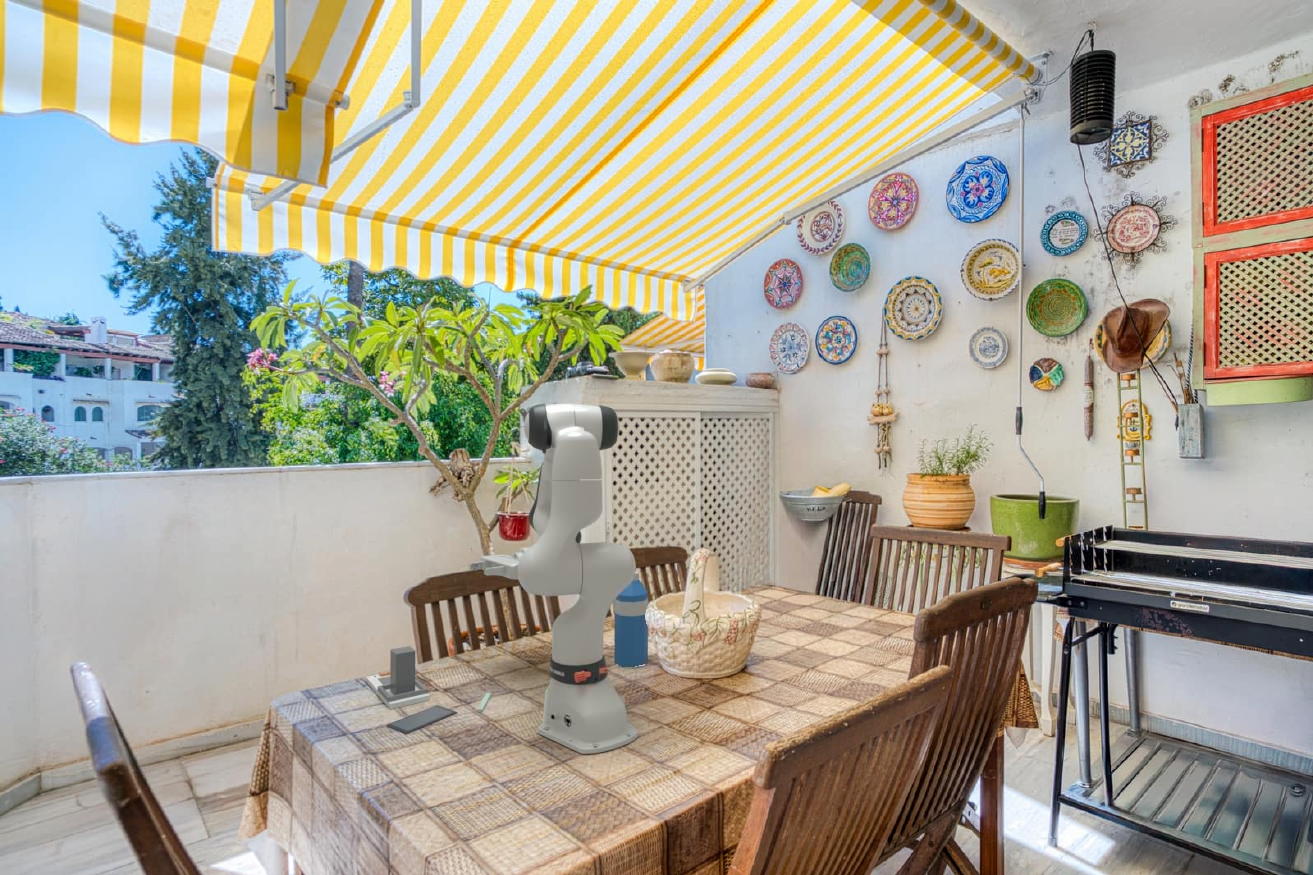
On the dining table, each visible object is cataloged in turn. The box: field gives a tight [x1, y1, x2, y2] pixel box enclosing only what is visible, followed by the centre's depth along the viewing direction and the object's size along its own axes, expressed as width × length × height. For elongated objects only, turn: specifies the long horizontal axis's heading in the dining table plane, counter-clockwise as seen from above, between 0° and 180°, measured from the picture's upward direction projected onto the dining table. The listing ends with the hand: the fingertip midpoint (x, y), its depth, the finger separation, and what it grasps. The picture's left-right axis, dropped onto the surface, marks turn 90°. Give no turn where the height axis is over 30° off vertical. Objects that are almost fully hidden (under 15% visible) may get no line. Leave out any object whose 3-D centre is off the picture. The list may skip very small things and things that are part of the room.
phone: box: [385, 704, 458, 735], centre depth 144 cm, size 7×13×1 cm, turn 146°
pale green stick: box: [476, 692, 492, 713], centre depth 154 cm, size 10×1×1 cm, turn 3°
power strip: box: [365, 669, 431, 710], centre depth 161 cm, size 22×9×2 cm, turn 37°
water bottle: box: [613, 571, 649, 668], centre depth 182 cm, size 9×9×25 cm
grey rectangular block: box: [389, 645, 416, 695], centre depth 157 cm, size 4×4×10 cm
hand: (477, 569), depth 169 cm, fingers open, 8 cm apart
